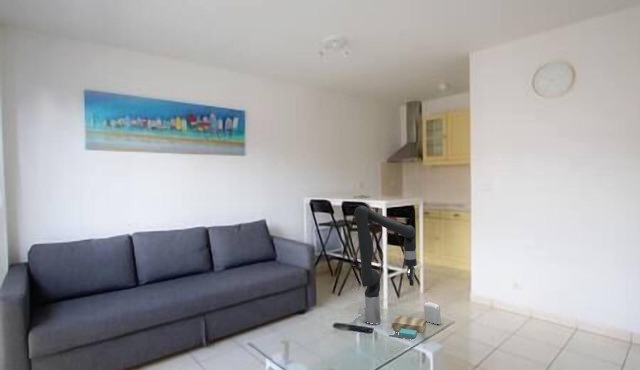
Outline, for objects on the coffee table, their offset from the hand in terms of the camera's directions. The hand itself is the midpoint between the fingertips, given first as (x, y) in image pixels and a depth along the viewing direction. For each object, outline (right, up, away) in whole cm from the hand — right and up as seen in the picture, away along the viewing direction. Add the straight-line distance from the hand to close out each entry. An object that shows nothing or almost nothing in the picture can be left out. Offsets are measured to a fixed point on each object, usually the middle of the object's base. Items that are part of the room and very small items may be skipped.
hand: (411, 285), depth 220 cm
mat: (-9, -25, -13) cm, 30 cm away
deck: (-2, -25, -3) cm, 25 cm away
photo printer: (+14, -24, +2) cm, 28 cm away
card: (-6, -23, -14) cm, 28 cm away
